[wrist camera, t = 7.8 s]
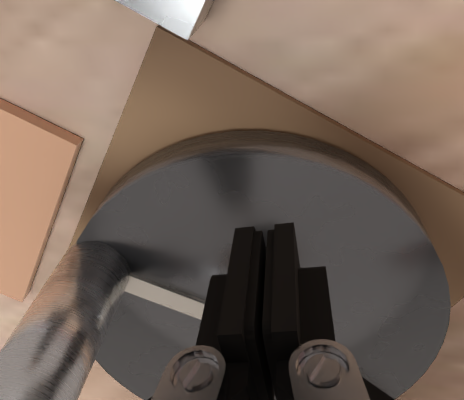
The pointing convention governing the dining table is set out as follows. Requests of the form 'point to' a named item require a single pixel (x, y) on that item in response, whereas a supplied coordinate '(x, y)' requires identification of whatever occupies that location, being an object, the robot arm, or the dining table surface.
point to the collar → (173, 13)
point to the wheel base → (257, 119)
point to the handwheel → (217, 261)
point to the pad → (29, 191)
